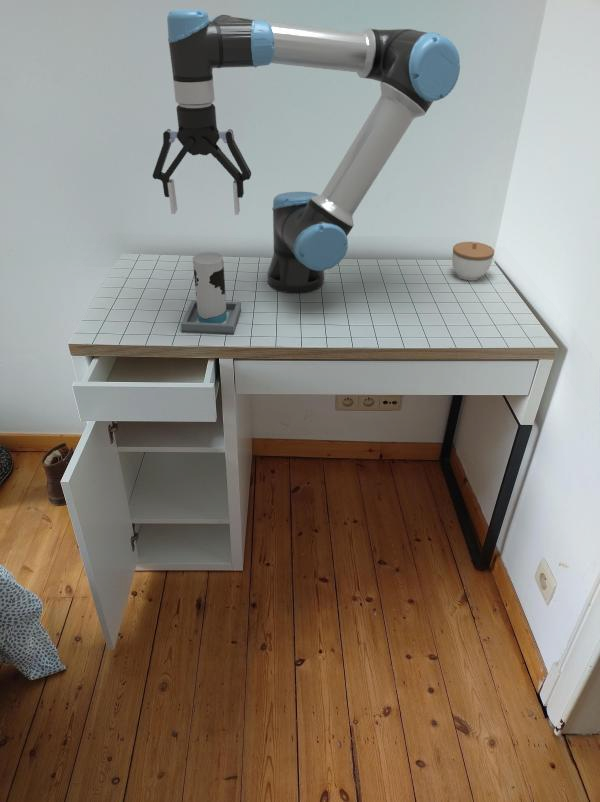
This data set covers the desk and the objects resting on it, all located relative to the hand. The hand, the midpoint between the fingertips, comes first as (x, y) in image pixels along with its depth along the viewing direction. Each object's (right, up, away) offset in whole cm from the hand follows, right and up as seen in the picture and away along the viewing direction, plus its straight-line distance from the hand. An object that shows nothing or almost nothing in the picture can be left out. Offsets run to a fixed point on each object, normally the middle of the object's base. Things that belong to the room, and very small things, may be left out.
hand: (205, 212), depth 130 cm
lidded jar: (+67, -6, +36) cm, 76 cm away
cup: (0, -21, +13) cm, 25 cm away
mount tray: (-1, -22, +13) cm, 25 cm away
